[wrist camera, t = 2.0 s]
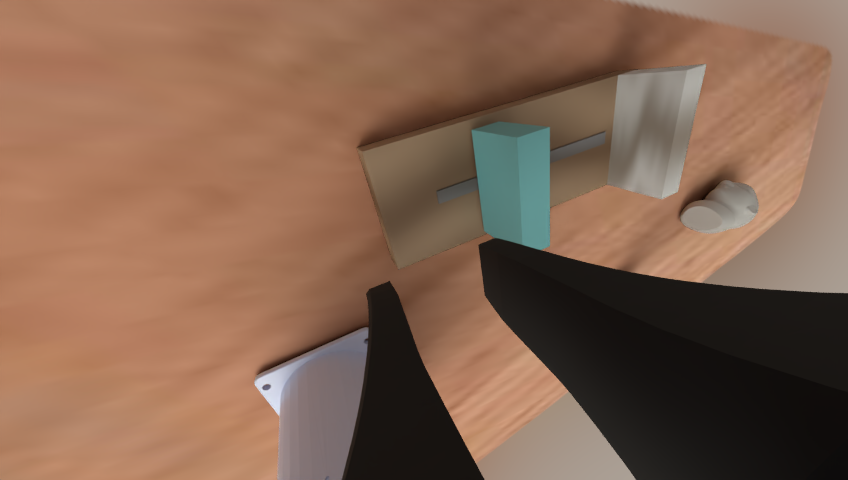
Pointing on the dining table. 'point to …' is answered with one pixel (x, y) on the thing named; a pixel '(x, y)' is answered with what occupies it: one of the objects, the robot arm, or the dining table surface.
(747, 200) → the pale two-lobed sculpture
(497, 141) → the sliding jaw
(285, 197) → the dining table surface
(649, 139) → the clamp board
